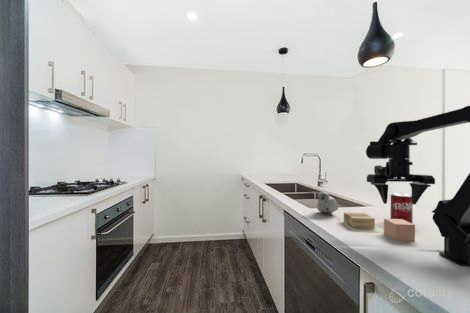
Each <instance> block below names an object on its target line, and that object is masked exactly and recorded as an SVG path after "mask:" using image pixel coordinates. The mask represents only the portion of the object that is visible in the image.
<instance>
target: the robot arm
mask: <svg viewBox="0 0 470 313" xmlns="http://www.w3.org/2000/svg"><path fill="white" fill-rule="evenodd" d="M468 123H470V105H466V106H464V107H462V108H458V109H455V110H451V111H450V110H449V111H447V112H443V113H439V114H434V115H431V116H428V117H424V118H420V119H415V120H408V121H405V120H404V121H395V122H391V123H388V124H387V126H386V127H385V131H383V134H381V136H380V137H379V139H378V140H377V141H370V142H369V145H367V148H366V149H365V154H366V157H367V158H368V159H370V160H386V159H388V161H386V163H385V166H383V165H374V168H373V170H374V173H373V174H371V173H369V174H367V175H366V182H367V183H370V185H373V186H374V187H375V188H376V189H377V192H378V193H379V196H380V198H381V201H382V203H383V204H385V205H386V204H387V203H388V196H389V194H388V193H389V184H387V183H388V182H389V183H390V182H405V183H408V184H409V186H410V188H411V196H412V204H413V205H417V203H418V201H419V200H420V198H421V197H422V195H423V194H424V193H425V191H427V189H428V188H430V187H432V185H435V184H436V178H435V177H434V176H433V175H430V174H412V173H411V170H410V169H411V168H410V167H411V166H413V161H411V160H410V156H411V155H410V153H411V152H410V149H411V148H410V146H417V145H418V142H416V141H415V140H413V139H412V138H414V137H416V136H418V135H420V134H423V133H426V132H430V131H434V130H435V131H436V130H440V129H444V128H448V127H453V126H459V125H463V124H468ZM409 182H410V183H409ZM431 213H433V214H432V220H433V223H434V224H435V226H437V228H438V231H439V232H440V236H441V237H443V238H444V239H443V248H444V249H443V251H444V252H443V251H439V252H438V254H439V255H440V256H442V257H444V258H446V259H448V260H450V261H451V262H453V263H455V264H457V265H459V266H466V267H468V266H470V172H469V173H468V175H467V176H466V178H465V179H464V180H463V183H462V184H461V185H460V187H459V189H457V192H456V193H455V194H454V196H453V197H452V198H451V199H442V200H439V201H438V202H437V204H436V207H435V208H434V209H433V210H432V211H431Z"/></svg>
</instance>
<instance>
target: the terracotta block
mask: <svg viewBox="0 0 470 313" xmlns="http://www.w3.org/2000/svg"><path fill="white" fill-rule="evenodd" d="M383 230H384V232H383V234H384V235H386V236H388V237H389V238H391V239H392V240H394V241H404V242H405V241H406V242H407V241H408V242H416V240H415V239H416V225H415V224H414V223H413V224H412V223H410V222H407V221H405V220H403V219H390V218H383Z"/></svg>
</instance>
